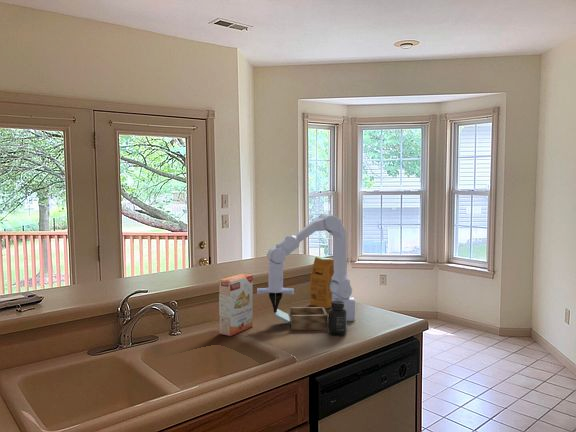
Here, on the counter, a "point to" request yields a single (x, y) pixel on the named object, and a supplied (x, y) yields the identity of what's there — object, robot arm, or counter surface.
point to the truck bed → (308, 318)
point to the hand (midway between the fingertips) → (275, 311)
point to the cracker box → (235, 304)
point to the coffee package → (321, 282)
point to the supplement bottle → (337, 319)
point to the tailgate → (282, 316)
